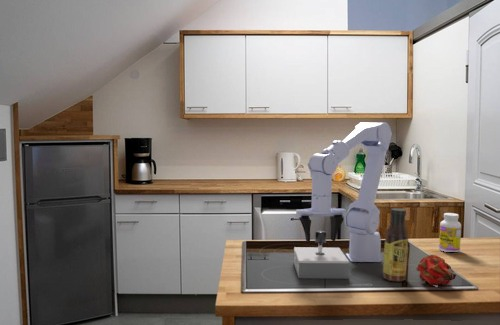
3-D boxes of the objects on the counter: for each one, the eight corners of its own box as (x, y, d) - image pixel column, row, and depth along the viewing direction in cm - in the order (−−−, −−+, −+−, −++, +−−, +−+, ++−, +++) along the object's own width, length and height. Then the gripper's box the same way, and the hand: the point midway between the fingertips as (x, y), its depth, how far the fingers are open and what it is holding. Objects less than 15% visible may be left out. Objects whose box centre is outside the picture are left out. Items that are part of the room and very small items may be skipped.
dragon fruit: (422, 281, 135) (448, 302, 123) (403, 266, 132) (428, 287, 121) (441, 258, 134) (469, 277, 123) (422, 243, 132) (449, 261, 120)
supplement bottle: (434, 250, 162) (436, 213, 160) (445, 247, 165) (447, 211, 164) (453, 254, 156) (455, 216, 155) (463, 251, 160) (465, 214, 159)
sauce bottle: (394, 284, 127) (396, 212, 126) (377, 277, 133) (380, 208, 131) (411, 280, 130) (414, 210, 129) (395, 274, 136) (397, 206, 134)
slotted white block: (338, 263, 146) (339, 247, 145) (348, 278, 132) (348, 261, 131) (293, 262, 145) (294, 247, 145) (298, 278, 132) (299, 260, 131)
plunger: (335, 253, 144) (335, 227, 143) (342, 264, 133) (343, 236, 132) (299, 252, 144) (299, 227, 143) (303, 263, 133) (304, 236, 132)
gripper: (340, 192, 142) (339, 236, 143) (293, 193, 139) (293, 237, 141) (349, 196, 135) (347, 242, 136) (300, 196, 132) (299, 244, 134)
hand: (320, 240), depth 138 cm, fingers open, 7 cm apart
